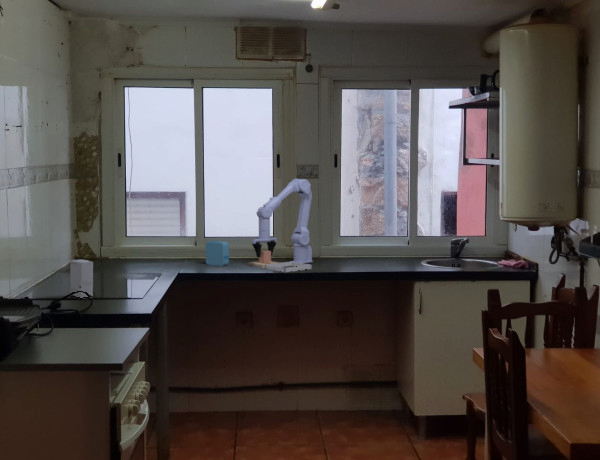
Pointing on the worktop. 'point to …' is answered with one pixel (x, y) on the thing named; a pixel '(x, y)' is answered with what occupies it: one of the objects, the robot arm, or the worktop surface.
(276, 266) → the tray
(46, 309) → the worktop surface
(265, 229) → the robot arm
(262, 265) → the board
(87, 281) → the skincare box
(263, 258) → the terracotta block
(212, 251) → the data package
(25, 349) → the worktop surface
